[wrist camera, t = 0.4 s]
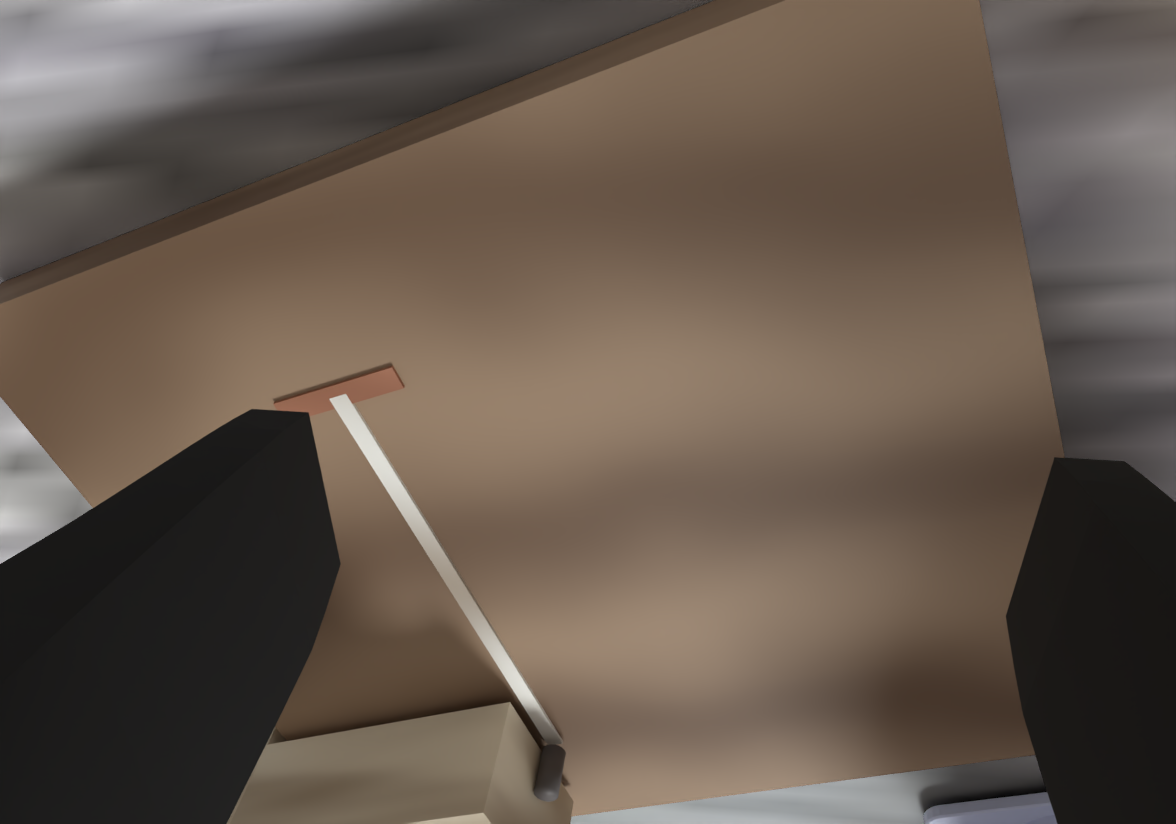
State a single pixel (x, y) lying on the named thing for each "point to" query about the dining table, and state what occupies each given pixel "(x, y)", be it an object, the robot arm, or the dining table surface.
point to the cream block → (411, 775)
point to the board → (624, 397)
